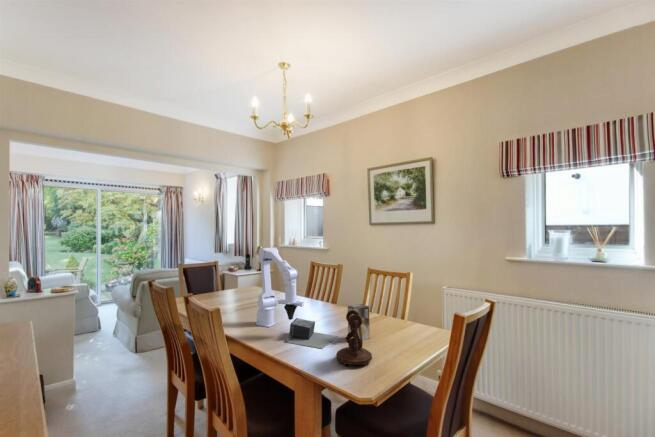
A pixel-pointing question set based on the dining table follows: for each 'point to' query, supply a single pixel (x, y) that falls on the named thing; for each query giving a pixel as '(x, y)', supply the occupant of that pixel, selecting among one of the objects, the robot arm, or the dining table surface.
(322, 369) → the dining table surface
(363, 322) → the coffee box
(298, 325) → the small box
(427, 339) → the dining table surface
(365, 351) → the brown tall round-based figurine
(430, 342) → the dining table surface
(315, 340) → the mat
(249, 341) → the dining table surface
